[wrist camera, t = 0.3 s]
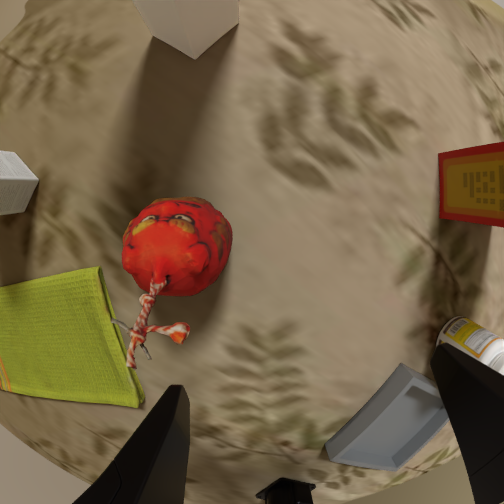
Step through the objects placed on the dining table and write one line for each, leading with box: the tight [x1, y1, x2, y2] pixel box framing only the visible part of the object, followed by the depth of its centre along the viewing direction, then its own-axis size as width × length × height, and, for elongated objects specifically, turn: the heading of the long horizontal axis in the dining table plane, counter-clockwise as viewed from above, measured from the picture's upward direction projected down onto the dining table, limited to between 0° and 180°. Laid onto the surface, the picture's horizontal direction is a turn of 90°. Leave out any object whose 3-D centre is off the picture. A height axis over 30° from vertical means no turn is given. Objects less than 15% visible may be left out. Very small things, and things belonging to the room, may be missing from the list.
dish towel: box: [0, 266, 145, 408], centre depth 23 cm, size 15×36×3 cm, turn 100°
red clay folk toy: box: [111, 197, 232, 370], centre depth 16 cm, size 8×7×15 cm
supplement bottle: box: [436, 316, 504, 375], centre depth 20 cm, size 6×6×10 cm
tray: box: [325, 363, 449, 471], centre depth 26 cm, size 14×14×3 cm
